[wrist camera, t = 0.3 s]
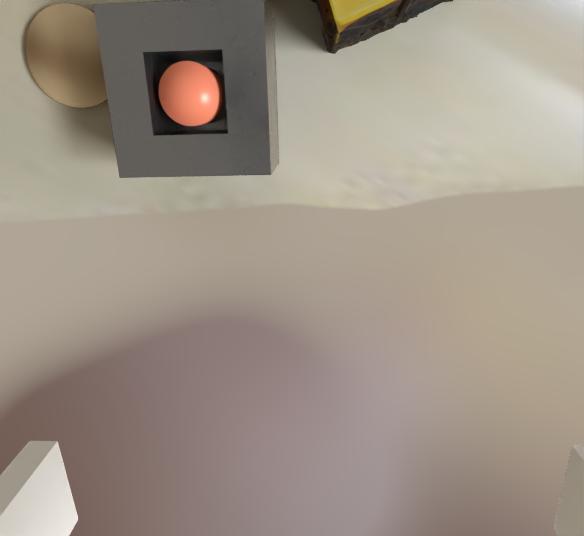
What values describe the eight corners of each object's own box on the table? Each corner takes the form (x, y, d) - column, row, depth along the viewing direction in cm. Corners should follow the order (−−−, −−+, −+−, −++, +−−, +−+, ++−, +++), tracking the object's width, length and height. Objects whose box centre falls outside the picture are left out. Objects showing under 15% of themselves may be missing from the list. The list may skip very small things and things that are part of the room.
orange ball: (174, 67, 31) (155, 61, 27) (228, 65, 31) (216, 59, 27) (180, 124, 32) (162, 126, 29) (232, 123, 32) (221, 125, 28)
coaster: (20, 6, 32) (15, 4, 32) (114, 2, 32) (110, 0, 31) (41, 108, 35) (36, 108, 34) (128, 106, 34) (125, 106, 34)
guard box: (137, 25, 32) (92, 4, 26) (274, 20, 32) (263, -3, 25) (155, 165, 36) (119, 177, 29) (279, 162, 35) (271, 174, 29)
